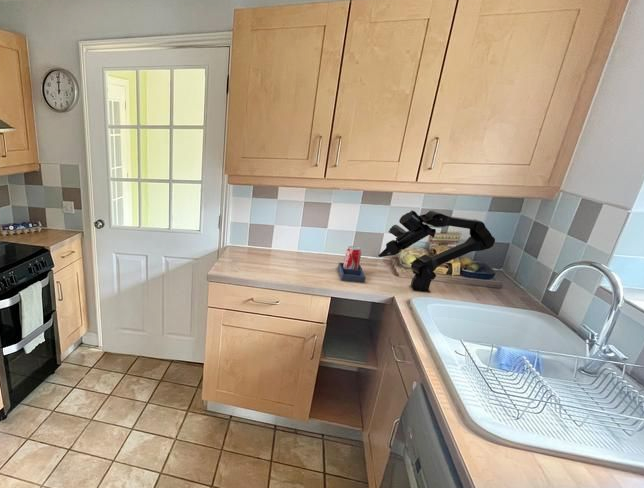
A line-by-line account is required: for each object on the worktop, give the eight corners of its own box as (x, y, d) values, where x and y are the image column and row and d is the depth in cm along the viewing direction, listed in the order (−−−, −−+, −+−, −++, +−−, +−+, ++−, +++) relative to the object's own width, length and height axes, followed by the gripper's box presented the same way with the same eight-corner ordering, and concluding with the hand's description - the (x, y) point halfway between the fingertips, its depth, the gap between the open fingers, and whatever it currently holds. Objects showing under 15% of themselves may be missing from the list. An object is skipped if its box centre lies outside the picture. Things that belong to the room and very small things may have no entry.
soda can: (339, 268, 211) (343, 246, 206) (352, 268, 212) (356, 245, 207) (347, 273, 205) (352, 250, 200) (360, 272, 206) (365, 249, 201)
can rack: (358, 269, 212) (360, 264, 211) (364, 282, 195) (365, 276, 194) (337, 267, 214) (338, 262, 213) (341, 280, 198) (342, 274, 196)
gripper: (410, 216, 186) (380, 236, 198) (396, 223, 175) (364, 243, 186) (425, 237, 185) (393, 255, 196) (412, 245, 173) (378, 264, 184)
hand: (382, 254), depth 191 cm, fingers open, 9 cm apart
